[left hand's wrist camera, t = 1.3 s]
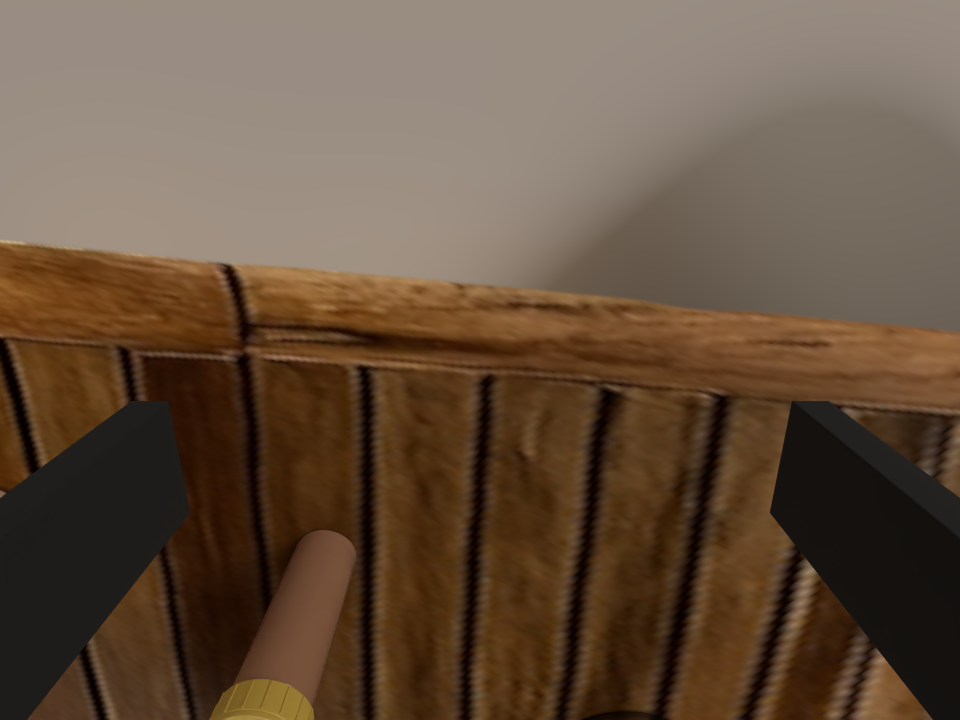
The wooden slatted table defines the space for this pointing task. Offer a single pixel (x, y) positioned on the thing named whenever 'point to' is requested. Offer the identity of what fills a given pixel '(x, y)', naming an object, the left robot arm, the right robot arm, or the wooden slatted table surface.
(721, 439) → the wooden slatted table surface
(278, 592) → the jar
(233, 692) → the lid
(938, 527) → the left robot arm
